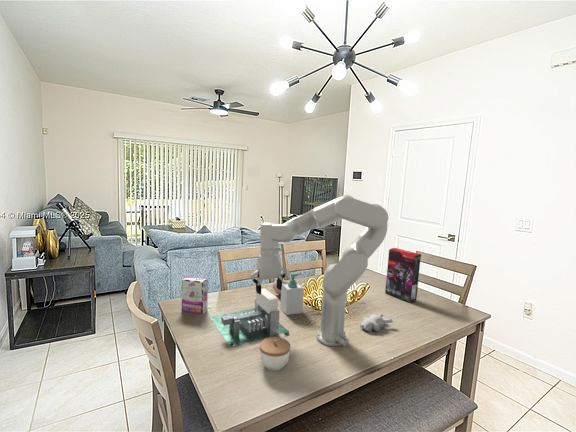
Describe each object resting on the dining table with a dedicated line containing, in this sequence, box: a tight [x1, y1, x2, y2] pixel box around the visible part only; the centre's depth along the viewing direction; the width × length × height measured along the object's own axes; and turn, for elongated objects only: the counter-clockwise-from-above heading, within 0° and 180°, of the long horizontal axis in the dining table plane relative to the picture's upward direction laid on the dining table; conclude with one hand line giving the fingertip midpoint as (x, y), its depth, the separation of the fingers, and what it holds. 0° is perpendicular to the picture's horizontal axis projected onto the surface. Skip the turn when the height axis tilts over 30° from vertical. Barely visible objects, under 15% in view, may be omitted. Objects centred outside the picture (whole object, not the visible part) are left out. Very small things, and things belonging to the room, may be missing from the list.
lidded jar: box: [259, 336, 291, 372], centre depth 106 cm, size 11×11×9 cm
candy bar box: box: [181, 276, 209, 315], centre depth 143 cm, size 11×5×16 cm, turn 76°
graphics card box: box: [384, 247, 422, 303], centre depth 174 cm, size 17×7×27 cm, turn 37°
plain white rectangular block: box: [255, 288, 279, 314], centre depth 130 cm, size 12×4×6 cm, turn 31°
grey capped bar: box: [221, 310, 267, 326], centre depth 126 cm, size 4×22×2 cm, turn 121°
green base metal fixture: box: [209, 298, 290, 348], centre depth 132 cm, size 27×26×11 cm
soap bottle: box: [279, 272, 305, 316], centre depth 150 cm, size 9×9×19 cm
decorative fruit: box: [272, 278, 289, 296], centre depth 169 cm, size 9×8×10 cm
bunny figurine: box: [359, 313, 393, 333], centre depth 138 cm, size 10×5×15 cm
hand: (269, 291), depth 129 cm, fingers open, 9 cm apart
